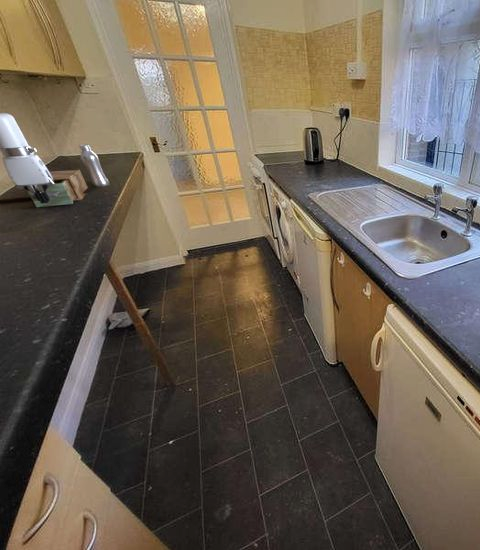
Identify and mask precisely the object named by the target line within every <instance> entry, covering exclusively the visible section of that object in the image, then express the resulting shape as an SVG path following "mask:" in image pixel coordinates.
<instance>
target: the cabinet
mask: <svg viewBox="0 0 480 550" xmlns="http://www.w3.org/2000/svg"><path fill="white" fill-rule="evenodd" d="M49 172H50V174H51V176H52V178H53V180H57V179H69V180H70V182H71V184H72V186H73V188H74V190H75V192H76V194H77V197H76V198H75V199H74V200H73V201H81V200H83V199H84V198H85V197H86V196H87V195H88V194H89V192H86V190H87V189H88V188H89V186H88V184H87V183H86V180H85V178H84V176H83V174H82V172H81V170H80V169H73V170H72V169H71V170H56V171H49ZM86 194H87V195H86ZM85 195H86V196H85ZM84 196H85V197H84Z"/></svg>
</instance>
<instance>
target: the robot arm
mask: <svg viewBox="0 0 480 550" xmlns="http://www.w3.org/2000/svg"><path fill="white" fill-rule="evenodd" d="M37 152H38V150H37V148H36V147H31V146H30V145H29V143H28V141H27V139H26V138H25V136H24V134H23V132H22V130H21V128H20V127H19V125H18V123H17V121H16V120H15V117H14V116H13V115H12V114H9V113H6V112H0V153H1V154H2V157H1V158H2V159H1V160H2V163H3V165H4V169H5V171H6V172H7V175H8V176H9V178H10V180H11V182H12V183H13V185H15V188H16V189H17V190H25V191H27V190H28V191H30V192H32V193H34V195H35V196H36V198H37V200H38V201H40V203H41V204H43V203H48V202H49V200H50V198H49V197H48V195H47V193H46V190H47V188H48V187H51V186H54V185H55V183H54V182H53V181H52V180H53V178H52V176H51V174H50V172H51V171H49V169H48V168H47V166H46V165H45V163H44V162H43V161H42V159H41V158H40V156H39V155H38V154H35V153H37ZM35 185H37V186H38V189H39V190H38V189H37V188H36V186H35ZM28 191H27V192H28Z"/></svg>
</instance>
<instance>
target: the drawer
mask: <svg viewBox="0 0 480 550" xmlns="http://www.w3.org/2000/svg"><path fill="white" fill-rule="evenodd" d="M52 181H53V182H54V183H55V185H54V186H51V187H48V188H47V190H46V193H47V195H48V197H49V198H50V200H49V202H48V203H43V204H41V203H40V201H38V200H37V198H36V196H35V195H34V193H32V192H30V191H28V190H26V191H27V193H28V195H29V197H30V198H31V200H32V202H33V204H34V205H35V207H36V208H45V207H55V206H64V205H73V204H74V202H75V200H74V199H75V198H76V197H77V194H76V192H75V190H74V188H73V186H72V184H71V182H70V180H69V179H57V180H52ZM35 186H36V188H37V189H38V186H37V185H35ZM38 190H39V189H38Z"/></svg>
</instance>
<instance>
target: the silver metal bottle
mask: <svg viewBox="0 0 480 550" xmlns="http://www.w3.org/2000/svg"><path fill="white" fill-rule="evenodd" d="M78 147H79V150H80V152H81V153H80V160H81V161H82V163H83V164H84V166H85V167H86V169H87V171H88V174H89V176H90V180H91V183H92V185H93V186H94V187H96V188H98V187H99V188H103V187H108V186H110V180H108V178H107V176H106V174H105V173H104V171H103V169H102V166H101V162H100V159H99V157H98V155H97V154H96V153H95V152H94V151H93V150H91V149H92V148H91V147H90V145H89V144H79V145H78Z"/></svg>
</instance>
